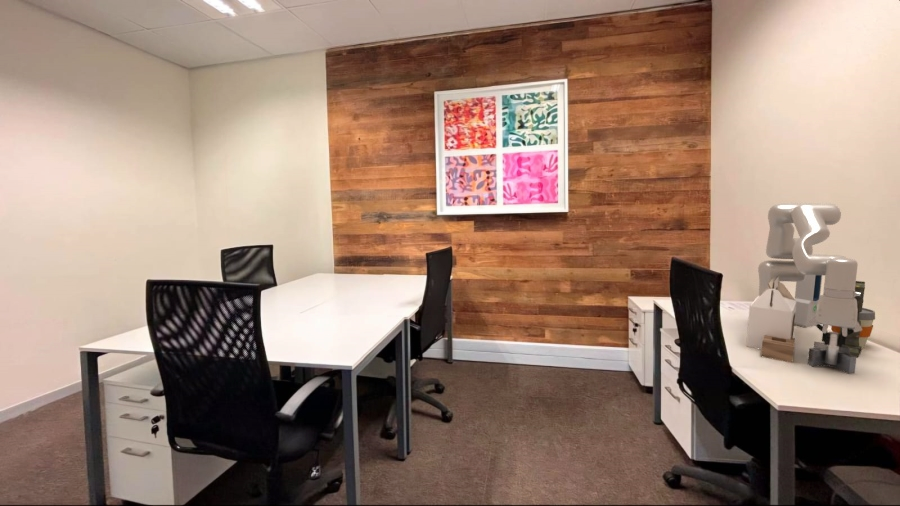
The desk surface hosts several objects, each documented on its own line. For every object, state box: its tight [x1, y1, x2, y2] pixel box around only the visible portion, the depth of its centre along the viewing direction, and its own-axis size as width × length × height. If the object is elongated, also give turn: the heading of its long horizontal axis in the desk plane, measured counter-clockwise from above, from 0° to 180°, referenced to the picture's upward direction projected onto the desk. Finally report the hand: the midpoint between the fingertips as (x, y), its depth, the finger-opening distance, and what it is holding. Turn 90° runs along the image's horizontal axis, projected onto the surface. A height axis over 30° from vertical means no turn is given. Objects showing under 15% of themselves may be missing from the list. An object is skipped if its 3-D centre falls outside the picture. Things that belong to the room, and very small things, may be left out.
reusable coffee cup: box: [830, 307, 876, 349], centre depth 158 cm, size 12×13×15 cm
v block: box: [807, 341, 857, 374], centre depth 139 cm, size 12×12×6 cm
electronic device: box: [794, 275, 823, 328], centre depth 183 cm, size 12×8×30 cm, turn 114°
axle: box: [825, 331, 840, 365], centre depth 136 cm, size 3×3×11 cm
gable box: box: [746, 276, 797, 350], centre depth 160 cm, size 22×13×28 cm, turn 135°
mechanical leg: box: [840, 280, 866, 358], centre depth 148 cm, size 14×7×30 cm, turn 134°
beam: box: [760, 335, 796, 363], centre depth 149 cm, size 12×9×6 cm
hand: (832, 344), depth 136 cm, fingers closed on axle, 3 cm apart
